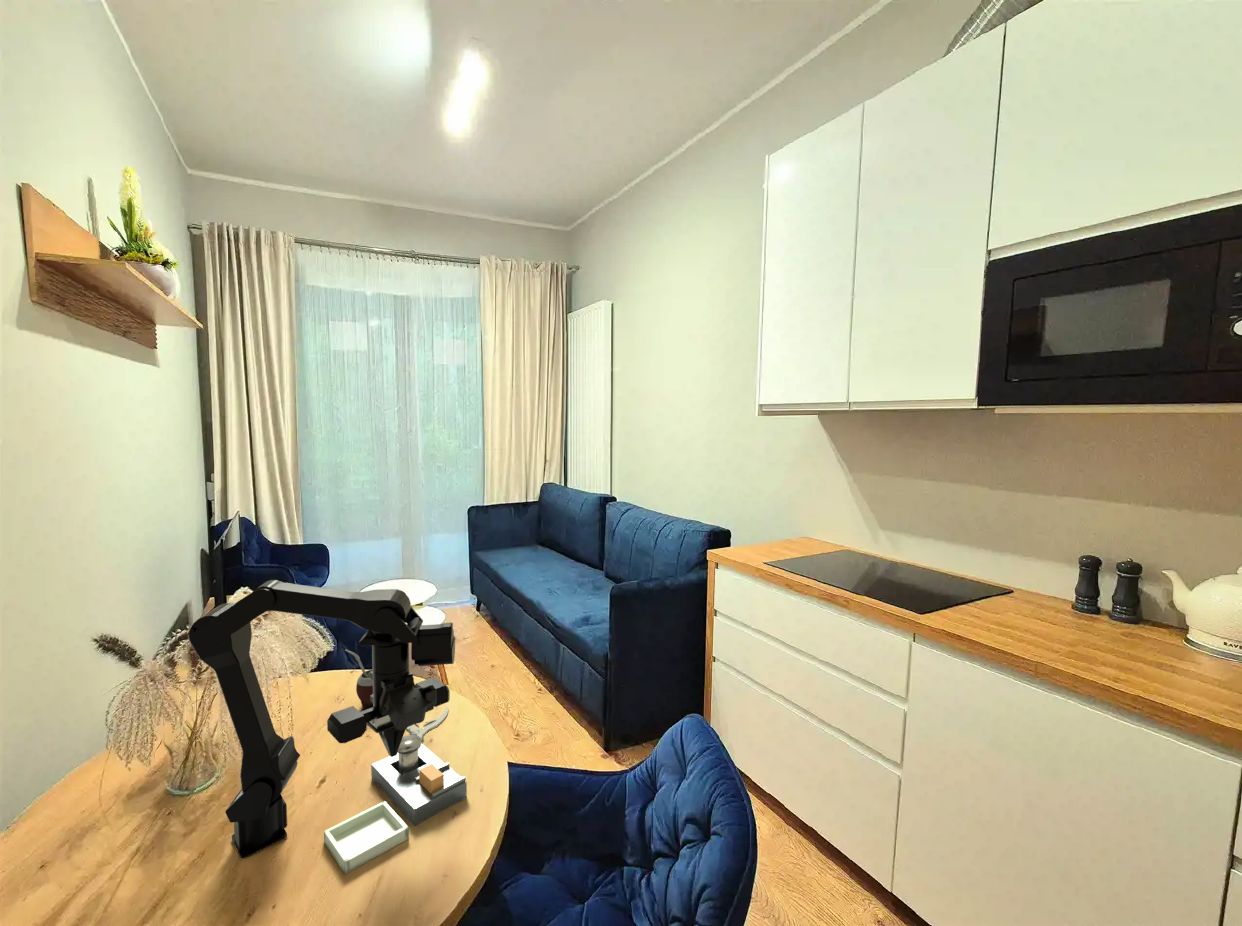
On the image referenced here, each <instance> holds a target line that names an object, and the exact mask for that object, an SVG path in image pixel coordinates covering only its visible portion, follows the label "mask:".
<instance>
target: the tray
mask: <svg viewBox="0 0 1242 926" xmlns="http://www.w3.org/2000/svg"><path fill="white" fill-rule="evenodd" d="M409 830H410V827H409V826H408V825H407V823H406V822H405V821H404V820H403V819H402V818H401V817H400V815H398V814H397V812H395V810H394V809H393V808H392V807H391V806H390V805H389V804H388V802H387V801H386V800H384V801H381V802H379V803H378V804H376V805H374V806H372V807H369V808H368V809H366V810H363V811H361V812H359V813H357V814H355V815H353V816H351V817H350V818H348V819H345V820H344V821H341V822H339V823H338V824H336V825H334V826H332V827H330V828H327V829H326V830H323V842H324V845H325V846H326V848H327V849H328V851H329V852H330V853H331V855H332V857H333V858H334V859H335V861H336V862H337V864H338V865H339V867H340V868H341V870H342V871H343V873H344V875H348V874H349V873H350V872H352V871H354V870H357V869H358V868H360V867H361V866H363V865H365V864H366V863H368V862H370V861H371V860H373V859H375V858H376V857H378V856H380V855H382V854H385V852H388V851H389V850H391V849H394V848H395V847H397V846H398V845H400V844H402V843H403V842H405V841H407V840H408V839H410V833H409V832H410V831H409Z"/></svg>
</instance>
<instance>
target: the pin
mask: <svg viewBox="0 0 1242 926" xmlns="http://www.w3.org/2000/svg"><path fill="white" fill-rule="evenodd" d="M420 746H421V738H420V737H419V736H417V735H411V734H407V735H405V736H404V735H403V738H402V740H401V743H400V746H399V749H398V752H397V753H399V774H400V775H401V776H403V775H405V774H407V773H409V772H411V771H413V770H415V769H417V768H418V749H419V748H420Z"/></svg>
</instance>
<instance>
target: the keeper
mask: <svg viewBox="0 0 1242 926" xmlns="http://www.w3.org/2000/svg"><path fill="white" fill-rule="evenodd" d="M419 779H420V784H421V785H422V786H423V787H425V788H426V789H427V790H428V791H429V792H430V793H432V792H434V791H436V790H438V789H439V788H441V787H443V786H444V774H443V773H442V772H440V771H439V770H438V769H437V768H436V767H435V766H434V765H432V764H430V765H428V766H426V767H424V768H422V769H420V770H419Z"/></svg>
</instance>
